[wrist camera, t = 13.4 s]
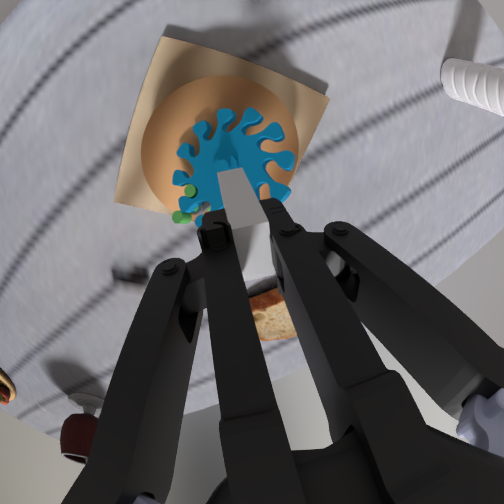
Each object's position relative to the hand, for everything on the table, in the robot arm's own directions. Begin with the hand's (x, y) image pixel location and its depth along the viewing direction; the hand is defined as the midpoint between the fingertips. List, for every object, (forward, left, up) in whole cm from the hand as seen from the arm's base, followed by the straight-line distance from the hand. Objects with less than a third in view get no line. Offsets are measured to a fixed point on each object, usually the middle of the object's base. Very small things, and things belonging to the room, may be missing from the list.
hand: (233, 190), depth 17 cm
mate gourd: (-14, -67, -14) cm, 70 cm away
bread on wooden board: (0, 0, -14) cm, 14 cm away
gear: (0, -1, -8) cm, 8 cm away
